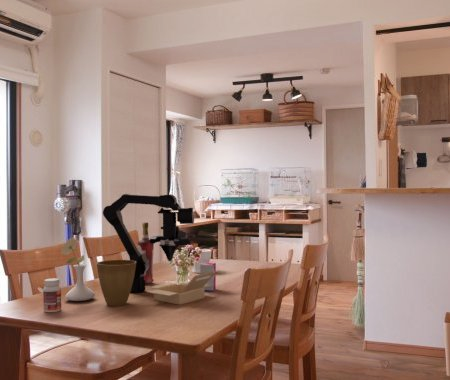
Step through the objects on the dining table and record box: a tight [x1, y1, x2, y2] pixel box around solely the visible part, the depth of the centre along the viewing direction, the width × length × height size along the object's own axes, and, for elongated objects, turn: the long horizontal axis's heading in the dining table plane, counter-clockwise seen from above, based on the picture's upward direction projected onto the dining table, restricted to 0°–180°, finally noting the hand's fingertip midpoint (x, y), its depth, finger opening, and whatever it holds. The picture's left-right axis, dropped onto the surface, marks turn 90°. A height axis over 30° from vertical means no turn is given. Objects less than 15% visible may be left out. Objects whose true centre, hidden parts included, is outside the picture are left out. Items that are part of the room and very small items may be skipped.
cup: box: [191, 248, 212, 274], centre depth 266 cm, size 12×12×11 cm
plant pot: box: [96, 259, 136, 307], centre depth 196 cm, size 15×15×16 cm
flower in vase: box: [60, 237, 96, 302], centre depth 203 cm, size 13×11×25 cm
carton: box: [146, 281, 211, 306], centre depth 204 cm, size 19×24×4 cm
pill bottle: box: [42, 277, 62, 313], centre depth 186 cm, size 6×6×11 cm
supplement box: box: [199, 262, 217, 292], centre depth 219 cm, size 6×6×12 cm
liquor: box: [137, 221, 155, 285], centre depth 236 cm, size 7×7×28 cm
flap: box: [182, 271, 217, 292], centre depth 196 cm, size 1×12×10 cm
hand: (170, 260), depth 217 cm, fingers closed
